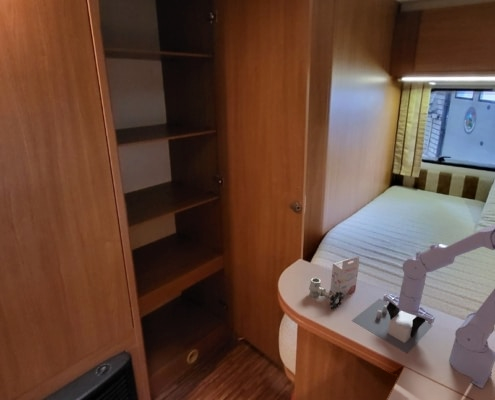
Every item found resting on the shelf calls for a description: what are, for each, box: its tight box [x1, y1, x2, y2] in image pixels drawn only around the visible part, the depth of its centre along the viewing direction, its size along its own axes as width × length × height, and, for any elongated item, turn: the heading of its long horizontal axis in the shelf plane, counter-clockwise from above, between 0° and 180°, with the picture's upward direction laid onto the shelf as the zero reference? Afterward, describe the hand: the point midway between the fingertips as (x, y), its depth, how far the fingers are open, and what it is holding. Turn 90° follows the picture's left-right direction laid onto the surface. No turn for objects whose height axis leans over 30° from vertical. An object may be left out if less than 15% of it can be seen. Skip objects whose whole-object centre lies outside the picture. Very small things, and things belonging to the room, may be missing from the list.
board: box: [351, 298, 433, 354], centre depth 105 cm, size 18×18×4 cm
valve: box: [308, 277, 345, 310], centre depth 116 cm, size 7×7×12 cm
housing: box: [387, 310, 416, 343], centre depth 101 cm, size 9×5×4 cm, turn 131°
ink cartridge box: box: [329, 256, 360, 297], centre depth 120 cm, size 9×5×15 cm, turn 119°
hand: (403, 330), depth 101 cm, fingers closed on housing, 5 cm apart
